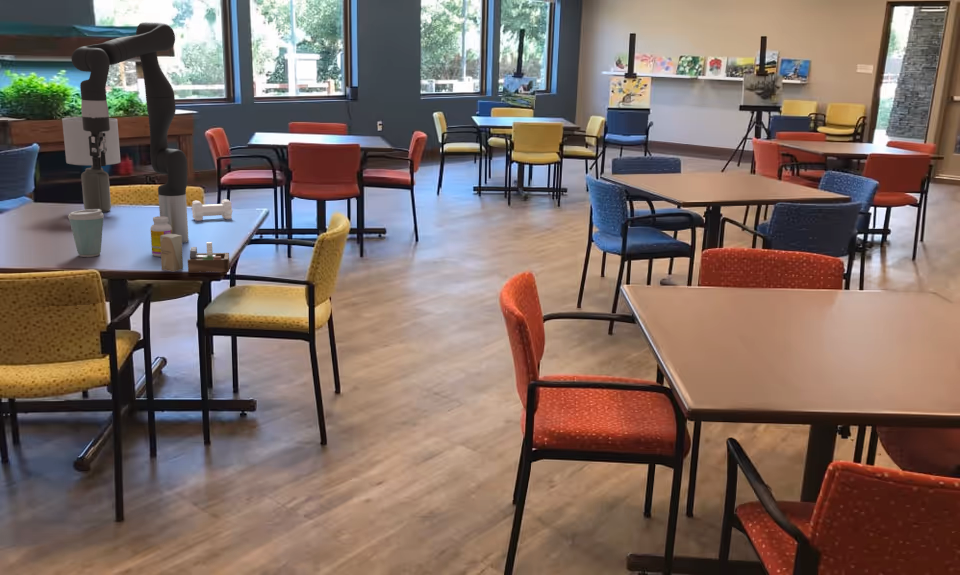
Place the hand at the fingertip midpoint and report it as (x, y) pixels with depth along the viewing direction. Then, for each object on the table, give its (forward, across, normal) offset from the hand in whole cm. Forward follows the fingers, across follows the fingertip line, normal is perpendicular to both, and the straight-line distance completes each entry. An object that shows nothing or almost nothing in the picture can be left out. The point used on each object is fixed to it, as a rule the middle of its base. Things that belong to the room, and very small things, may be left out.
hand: (99, 167), depth 250 cm
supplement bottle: (+30, -7, +16) cm, 35 cm away
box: (+30, +13, +21) cm, 39 cm away
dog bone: (+30, -70, +29) cm, 82 cm away
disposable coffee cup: (+30, -9, -7) cm, 32 cm away
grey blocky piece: (+30, +13, +30) cm, 44 cm away
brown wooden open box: (+30, +13, +32) cm, 46 cm away
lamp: (+30, -89, -18) cm, 96 cm away
